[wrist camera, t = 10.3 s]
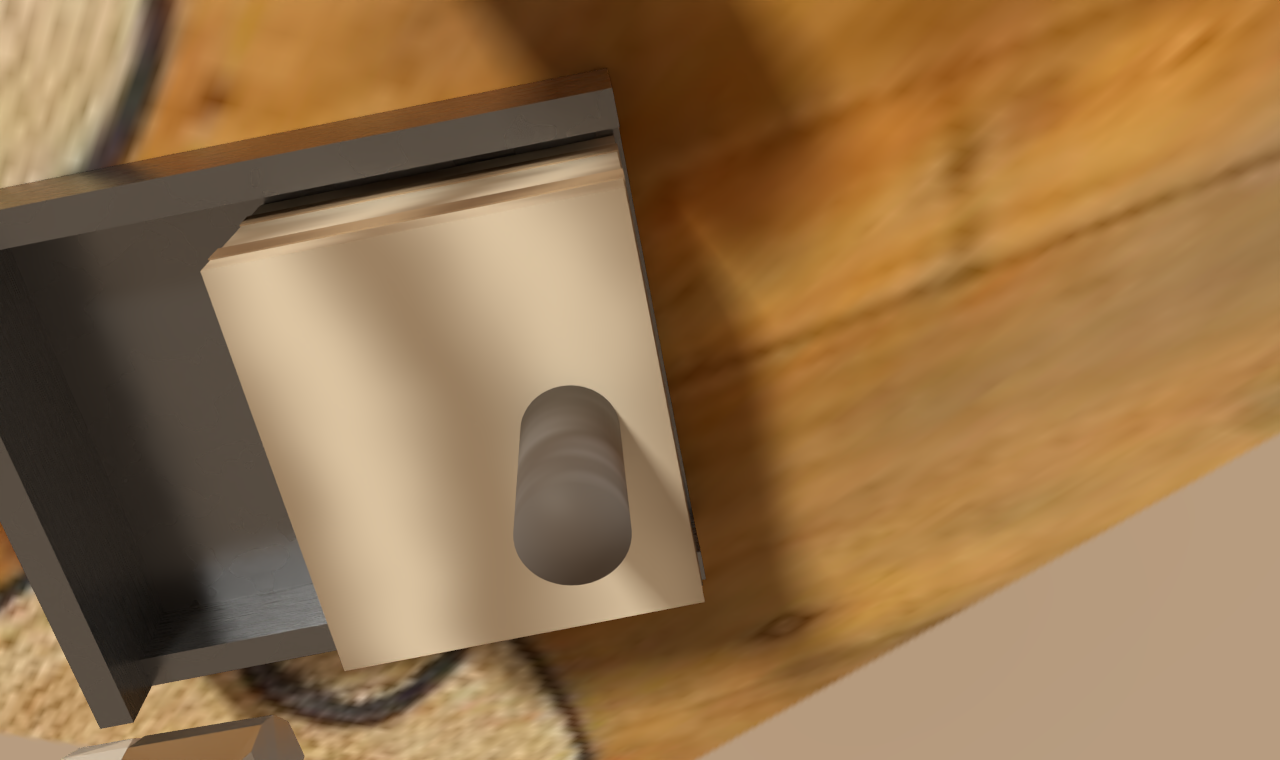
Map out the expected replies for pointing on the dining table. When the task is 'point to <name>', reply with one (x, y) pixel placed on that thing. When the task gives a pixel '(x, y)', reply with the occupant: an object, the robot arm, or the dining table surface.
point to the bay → (191, 386)
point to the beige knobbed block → (463, 401)
